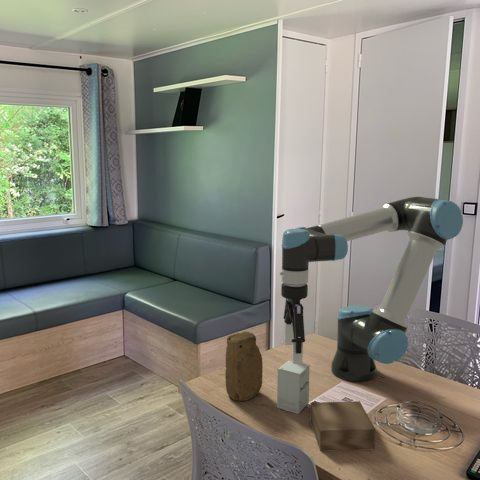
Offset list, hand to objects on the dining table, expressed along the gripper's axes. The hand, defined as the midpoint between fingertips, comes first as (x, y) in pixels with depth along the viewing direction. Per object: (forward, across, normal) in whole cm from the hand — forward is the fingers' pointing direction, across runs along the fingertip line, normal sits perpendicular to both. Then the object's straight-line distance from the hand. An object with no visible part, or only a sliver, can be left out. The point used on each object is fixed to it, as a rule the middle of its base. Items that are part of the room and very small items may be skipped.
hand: (292, 353), depth 143 cm
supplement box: (+17, 0, 0) cm, 17 cm away
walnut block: (+17, +16, +10) cm, 26 cm away
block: (+17, -8, -14) cm, 23 cm away
